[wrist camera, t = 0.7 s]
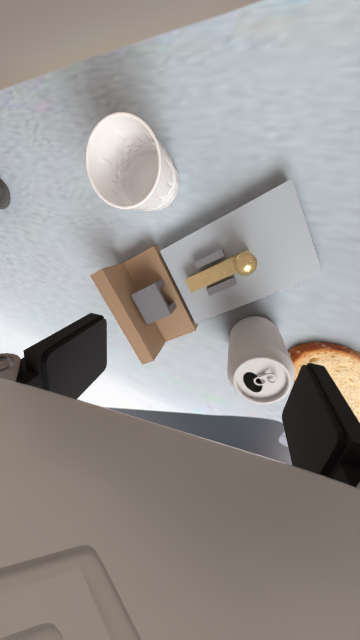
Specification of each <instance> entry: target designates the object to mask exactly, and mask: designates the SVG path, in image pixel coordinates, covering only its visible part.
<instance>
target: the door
mask: <svg viewBox="0 0 360 640" xmlns="http://www.w3.org/2000/svg"><path fill="white" fill-rule="evenodd" d="M248 248H249V250H250V252H251V253H252V254H253V255H254V256H255V258H256V260H257V268H256V270H255V271H254V272H253V273H252V274H250V275H248V276H242V275H240V274H238V273H235V274H232V275H230V276H228V277H226V278H223V279H221V280H219V281H217V282H214V283H212V284H210V285H208V286H205V287H203V288H201V289H198V290H196V291H194V292H192V293H191V292H190V290H189V287H188V285H187V283H186V281H185V279H186V278H187V277H189V276H191V275H193V274H195V273H198V272H200V271H202V270H204V269H206V268H208V267H210V266H212V265H214V264H217V263H219V262H221V261H223V260H225V259H227V258H229V257H231V256H234V255H236V254H238V253H239V252H241V251H244V250H246V249H248ZM321 275H323V273H322V269H321V266H320V263H319V260H318V257H317V254H316V251H315V248H314V245H313V242H312V239H311V235H310V232H309V229H308V226H307V223H306V220H305V217H304V214H303V211H302V208H301V205H300V202H299V198H298V195H297V192H296V189H295V186H294V183H293V180H292V179H290V180H288V181H287V182H285V183H283V184H281V185H279V186H277V187H276V188H274V189H272V190H270V191H268V192H266V193H265V194H263V195H261V196H259V197H257V198H256V199H254V200H252V201H250V202H248V203H246V204H245V205H243V206H241V207H239V208H237V209H235V210H234V211H232V212H230V213H228V214H226V215H224V216H223V217H221V218H219V219H217V220H215V221H213V222H212V223H210V224H208V225H206V226H204V227H203V228H201V229H199V230H197V231H195V232H193V233H192V234H190V235H188V236H186V237H184V238H182V239H181V240H179V241H177V242H175V243H173V244H171V245H170V246H168V247H166V248H164V249H162V250H160V248H159V246H158V245H156V246H153V247H151V248H149V249H147V250H145V251H144V252H142V253H140V254H138V255H137V256H135V257H133V258H131V259H129V260H128V261H126V262H124V263H121V264H118V265H114V266H111V267H107V268H103V269H101V270H99V271H97V272H96V273H94V274H92V275H90V276H91V278H92V279H93V281H94V283H95V285H96V286H97V288H98V290H99V291H100V293H101V295H102V297H103V298H104V300H105V302H106V303H107V305H108V307H109V308H110V310H111V312H112V314H113V315H114V317H115V319H116V320H117V322H118V324H119V326H120V327H121V329H122V331H123V332H124V334H125V336H126V338H127V339H128V341H129V343H130V344H131V346H132V348H133V349H134V351H135V353H136V355H137V356H138V358H139V360H140V361H141V363H142V364H145V363H148V362H151V361H154V359H155V358H156V356H157V355H158V353H159V352H160V350H161V348H162V347H163V345H164V344H165V342H166V341H169V340H171V339H174V338H177V337H179V336H182V335H185V334H187V333H190V332H193V331H196V328H197V326H198V325H197V323H199V322H202V321H204V320H207V319H210V318H212V317H215V316H217V315H220V314H223V313H225V312H228V311H230V310H233V309H236V308H238V307H241V306H243V305H246V304H249V303H251V302H254V301H256V300H259V299H262V298H264V297H267V296H269V295H272V294H275V293H277V292H280V291H282V290H285V289H288V288H290V287H293V286H295V285H298V284H301V283H303V282H306V281H308V280H311V279H314V278H316V277H319V276H321Z"/></svg>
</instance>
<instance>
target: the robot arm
mask: <svg viewBox="0 0 360 640" xmlns="http://www.w3.org/2000/svg"><path fill="white" fill-rule="evenodd" d="M106 365H107V322H106V319H104V317H103V316H102V315H98V314H93V313H90V314H88V315H86V316H85V317H83V318H81V319H79V320H77V321H76V322H74V323H72V324H70V325H69V326H67V327H65V328H63V329H61V330H60V331H58V332H56V333H54V334H52V335H51V336H49V337H47V338H45V339H43V340H42V341H40V342H38V343H36V344H35V345H33V346H31V347H29V348H27V349H26V350H24V358H22V359H20V357H19V356H17V355H15V354H9V353H5V354H0V640H360V423H359V421H358V419H357V418H356V416H355V414H354V413H353V411H352V410H351V408H350V406H349V405H348V403H347V402H346V400H345V398H344V397H343V395H342V394H341V392H340V390H339V389H338V387H337V386H336V384H335V382H334V381H333V379H332V378H331V376H330V374H329V373H328V371H327V369H326V368H325V367H324V366H322V365H318V364H313V363H308V364H307V365H302V366H301V369H300V371H299V373H298V376H297V378H296V381H295V383H294V386H293V388H292V390H291V393H290V395H289V398H288V400H287V403H286V405H285V407H284V410H283V413H282V420H283V425H284V429H285V434H286V438H287V443H288V447H289V451H290V456H291V460H292V465H293V466H292V465H289V464H286V463H283V462H280V461H276V460H273V459H270V458H267V457H263V456H260V455H257V454H253V453H250V452H247V451H244V450H241V449H238V448H234V447H231V446H228V445H225V444H222V443H218V442H215V441H212V440H208V439H205V438H202V437H199V436H195V435H192V434H189V433H185V432H182V431H179V430H175V429H172V428H169V427H166V426H163V425H159V424H156V423H153V422H149V421H146V420H143V419H139V418H136V417H133V416H129V415H126V414H123V413H120V412H116V411H113V410H110V409H107V408H104V407H100V406H97V405H94V404H90V403H87V402H84V401H80V400H77V398H78V397H79V396H80V395H81V394H82V393H83V392H84V391H85V390H86V389H87V388H88V387H89V386H90V385H91V384H92V383H93V382H94V381H95V380H96V379H97V378H98V376H99V375H100V374H101V373H102V372H103V371H104V370H105V368H106Z"/></svg>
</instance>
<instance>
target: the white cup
mask: <svg viewBox="0 0 360 640" xmlns="http://www.w3.org/2000/svg"><path fill="white" fill-rule="evenodd" d="M86 169H87V174H88V177H89V180H90V182H91V185H92V187H93V188H94V190H95V191H96V193H97V194H98V195H99V197H100V198H101V199H102V200H104V201H105V202H106V203H108V204H109V205H111V206H113V207H116V208H121V209H131V210H140V211H151V210H158V211H159V210H161V209H163V208H165V207H168V206H169V205H170V204H171V202H172V201H173V200H174V198H175V197H176V194H177V190H178V186H179V181H178V173H177V170H176V168H175V167H174V165H173V163H172V161H171V159H170V157H169V155H168V153H167V152H166V150H165V149H164V147H163V146H162V144H161V143H160V142H159V140H158V139H157V137H156V136H155V134H154V133H153V131H152V130H151V128H150V127H149V126H148V125H147V124H146V123H145V122H144V121H143V120H142V119H141V118H139V117H138V116H136V115H134V114H131V113H127V112H116V113H112V114H109V115H107V116H106V117H104V118H103V119H101V120H100V121H99V122H98V123H97V125H96V126H95V127H94V129H93V130H92V132H91V134H90V137H89V139H88V143H87V147H86Z"/></svg>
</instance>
